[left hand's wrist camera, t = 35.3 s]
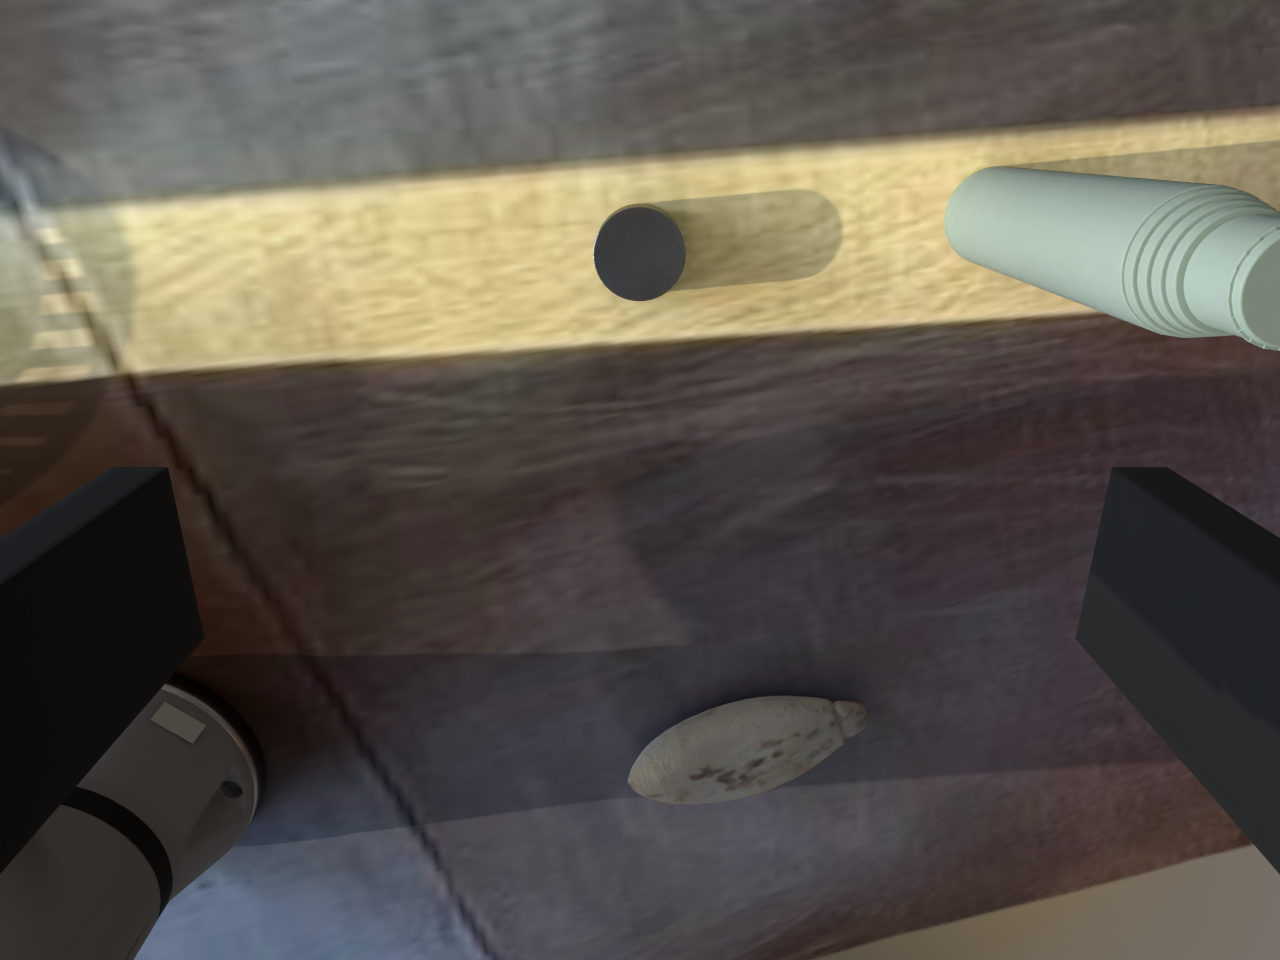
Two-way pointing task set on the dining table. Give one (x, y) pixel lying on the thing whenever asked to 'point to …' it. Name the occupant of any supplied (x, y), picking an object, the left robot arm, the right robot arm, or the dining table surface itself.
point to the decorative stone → (743, 748)
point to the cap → (639, 252)
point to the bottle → (1129, 247)
